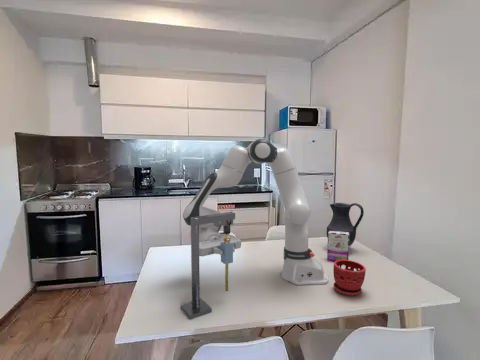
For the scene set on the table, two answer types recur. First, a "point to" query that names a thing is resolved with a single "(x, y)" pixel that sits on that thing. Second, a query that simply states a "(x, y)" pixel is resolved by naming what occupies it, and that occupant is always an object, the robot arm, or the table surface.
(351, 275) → the plant pot
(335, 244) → the candy bar box
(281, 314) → the table surface
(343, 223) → the pitcher
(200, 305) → the grey gallows stand
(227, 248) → the sleeve
